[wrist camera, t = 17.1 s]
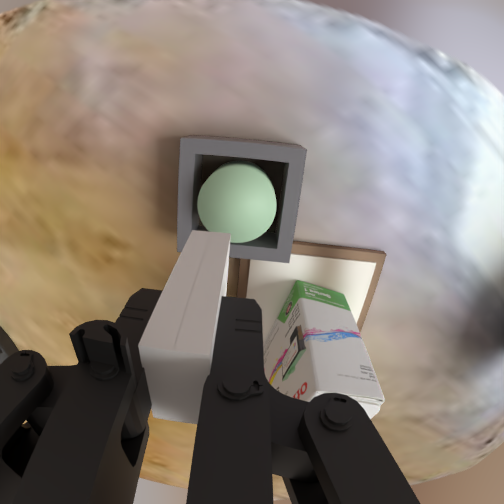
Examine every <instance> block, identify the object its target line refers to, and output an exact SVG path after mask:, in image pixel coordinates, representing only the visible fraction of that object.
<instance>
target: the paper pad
mask: <svg viewBox="0 0 504 504" xmlns="http://www.w3.org/2000/svg"><path fill="white" fill-rule="evenodd" d="M385 257H386V253H385V252H384V251H376V250H368V249H359V248H351V247H342V246H333V245H325V244H316V243H307V242H298V241H293V244H292V250H291V256H290V262H289V263H281V262H271V261H261V260H251V259H242V258H240V269H239V279H238V290H237V298H248V299H255V300H256V302H257V303H258V305H259V306H260V308H261V309H262V327H263V332H262V333H263V344H264V342H265V340H266V338H267V336H268V335H269V333H270V331H271V329H272V327H273V325H274V323H275V321H276V320H277V318H278V316H279V314H280V312H281V310H282V308H283V306H284V304H285V302H286V300H287V298H288V296H289V294H290V292H291V290H292V288H293V286H294V284H295V282H296V281H297V280H299V281H303V282H307V283H310V284H314V285H317V286H320V287H323V288H326V289H329V290H332V291H336V292H339V293H342V294H344V295H345V298H346V300H347V302H348V305H349V307H350V310H351V312H352V314H353V317H354V319H355V322H356V324H357V327H358V330H359V332H360V331H361V329H362V326H363V323H364V321H365V318H366V315H367V312H368V310H369V307H370V304H371V301H372V298H373V295H374V292H375V289H376V286H377V283H378V280H379V277H380V274H381V271H382V267H383V264H384V261H385Z"/></svg>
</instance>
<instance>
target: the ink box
mask: <svg viewBox="0 0 504 504" xmlns="http://www.w3.org/2000/svg"><path fill="white" fill-rule="evenodd" d="M263 353H264V372H265V377H266V378H267V380H268V382H269V383H270V384H271V385H272V386H273V387H274V389H276V390H277V391H279V392H280V393H282V394H284V395H287V396H290V397H293V398H296V399H300V400H303V401H307V402H310V401H311V400H312V399H313V398H314V397H316V396H318V395H321V394H323V393H340V394H344V395H347V396H349V397H351V398H353V399H354V400H356V401H357V402H358V403H359V404H360V405H361V406H362V407H363V408H364V410H365V411H366V413H367V415H368V416H369V418H370V419H371V418H372V417H373V416H374V415H376V414H377V413H378V412H379V411H380V405H381V404H382V403H383V402H384V401H385V399H384V396H383V393H382V390H381V388H380V385H379V382H378V379H377V377H376V374H375V371H374V369H373V366H372V363H371V360H370V358H369V355H368V353H367V350H366V347H365V345H364V342H363V340H362V337H361V335H360V332H359V330H358V327H357V324H356V322H355V319H354V317H353V314H352V312H351V310H350V307H349V305H348V302H347V300H346V298H345V295H344V294H342V293H339V292H336V291H332V290H329V289H326V288H323V287H320V286H317V285H314V284H310V283H307V282H303V281H299V280H297V281H296V282H295V284H294V286H293V288H292V290H291V292H290V294H289V296H288V298H287V300H286V302H285V304H284V306H283V308H282V310H281V312H280V314H279V316H278V318H277V320H276V321H275V323H274V325H273V327H272V329H271V331H270V333H269V335H268V336H267V338H266V340H265V342H264V344H263Z"/></svg>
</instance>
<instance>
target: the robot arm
mask: <svg viewBox="0 0 504 504" xmlns="http://www.w3.org/2000/svg"><path fill="white" fill-rule="evenodd" d="M230 238H231V234H230V233H220V232H209V231H197V230H192V232H191V234H190V236H189V238H188V240H187V242H186V244H185V246H184V248H183V250H182V252H181V254H180V256H179V258H178V260H177V262H176V264H175V266H174V268H173V270H172V272H171V274H170V277H169V279H168V281H167V283H166V285H165V287H164V289H163V291H161V290H153V289H145V288H142V289H140V290H139V291H137V292H136V293H135V294H133V295H132V296H131V297H130V298H129V300H128V302H127V303H126V305H125V308H124V309H123V310H122V312H121V314H120V317H118V319H117V320H116V322H115V323H114V322H111V321H108V320H94V321H89V322H85V323H83V324H81V325H79V326H77V327H76V328H75V329H74V330H73V331H72V332H71V333H70V334H69V335H70V338H71V341H72V344H73V347H74V350H75V353H76V356H77V358H78V361H79V362H78V364H77V365H72V366H47V363H46V361H45V359H44V358H43V357H42V356H41V355H40V353H38V352H35V351H32V350H22V351H18V349H17V348H16V346H15V345H14V343H13V342H12V341H11V339H10V338H9V337H8V335H7V334H6V333H5V332H4V331H3V330H2V328H1V327H0V504H133V501H134V497H135V492H136V487H137V482H138V479H139V474H140V470H141V466H142V462H143V458H144V453H145V449H146V445H147V441H148V437H149V425H148V422H147V420H148V417H149V413H150V410H151V409H152V413H153V417H154V418H160V419H166V420H172V421H178V422H185V423H192V424H197V431H196V437H195V444H194V451H193V458H192V465H191V472H190V479H189V487H188V495H187V503H186V504H273V482H272V474H275V475H279V476H282V478H283V481H284V483H285V486H286V489H287V492H288V494H289V497H290V500H291V502H292V504H420V502H419V501H418V499H417V497H416V495H415V494H414V492H413V490H412V489H411V487H410V485H409V483H408V482H407V480H406V478H405V477H404V475H403V473H402V472H401V470H400V468H399V466H398V465H397V463H396V461H395V460H394V458H393V456H392V455H391V453H390V451H389V450H388V448H387V446H386V445H385V443H384V441H383V440H382V438H381V436H380V435H379V433H378V431H377V430H376V428H375V426H374V425H373V423H372V421H371V420H370V418H369V416H368V415H367V413H366V411H365V410H364V408H363V407H362V406H361V405H360V404H359V403H358V402H357V401H356V400H354V399H353V398H351V397H349V396H347V395H344V394H340V393H323V394H321V395H318V396H316V397H314V398H313V399H312V400H311V401H310V402H307V401H303V400H300V399H296V398H293V397H290V396H287V395H284V394H282V393H280V392H279V391H277V390H276V389H274V387H273V386H272V385H271V384H270V383H269V382H268V380H267V378H266V377H265V372H264V353H263V333H262V332H263V327H262V309H261V308H260V306H259V305H258V303H257V302H256V300H255V299H248V298H237V297H227V296H226V292H227V278H228V264H229V251H230ZM25 420H27V421H28V422H27V423H25V424H23V423H24V421H25Z"/></svg>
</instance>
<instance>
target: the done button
mask: <svg viewBox="0 0 504 504" xmlns="http://www.w3.org/2000/svg"><path fill="white" fill-rule="evenodd" d="M276 206H277V205H276V197H275V192H274V187H273V183H272V181H271V179H270V177H269V176H268V174H267V173H266V172H265V171H264V170H263V169H262V168H261V167H259V166H258V165H256V164H254V163H251V162H248V161H241V160H237V161H231V162H228V163H225V164H223V165H221V166H220V167H218V168H217V169H216V170H215V171H214V172H213V173H212V174H211V175H210V177H209V178H208V179H207V180H206V182H205V183H204V184H203V186H202V188H201V190H200V192H199V196H198V201H197V208H198V213H199V217H200V219H201V221H202V223H203V225H204V226H205V227H206V229H207V230H208V231H209V232H220V233H230V234H231V238H230V242H232V243H243V242H248V241H251V240H254V239H256V238H258V237H259V236H261V235H262V234H263V233H265V232H266V231H267V229H268V228H269V227H270V225H271V224H272V222H273V220H274V217H275V214H276Z"/></svg>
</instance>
